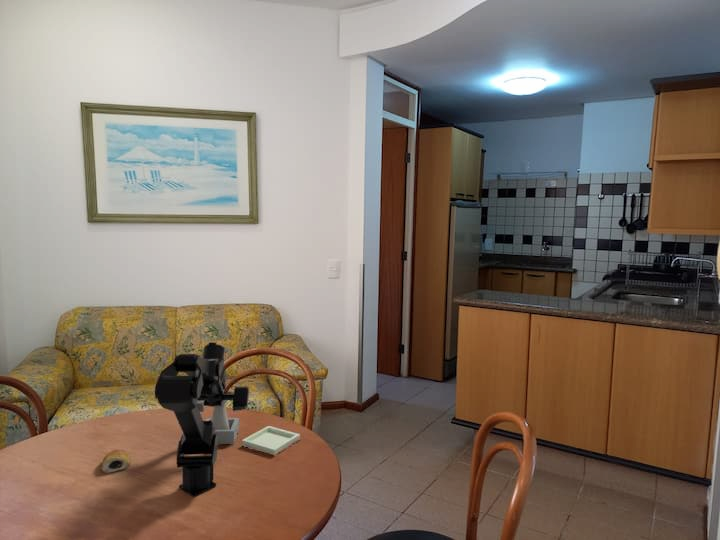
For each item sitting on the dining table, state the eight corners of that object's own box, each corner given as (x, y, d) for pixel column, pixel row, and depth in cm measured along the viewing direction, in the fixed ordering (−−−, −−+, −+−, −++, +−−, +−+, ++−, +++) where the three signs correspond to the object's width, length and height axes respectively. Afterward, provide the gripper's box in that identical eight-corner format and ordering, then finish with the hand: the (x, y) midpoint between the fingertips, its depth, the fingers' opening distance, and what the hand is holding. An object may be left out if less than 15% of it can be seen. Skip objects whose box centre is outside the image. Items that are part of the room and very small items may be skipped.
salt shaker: (217, 443, 142) (217, 400, 141) (205, 438, 146) (205, 395, 145) (233, 436, 147) (233, 395, 146) (221, 431, 151) (221, 390, 149)
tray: (274, 456, 135) (274, 449, 135) (241, 446, 141) (241, 440, 141) (300, 440, 146) (300, 434, 145) (268, 431, 151) (268, 425, 151)
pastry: (103, 458, 132) (103, 445, 132) (131, 454, 135) (130, 441, 135) (101, 475, 124) (101, 460, 123) (130, 470, 126) (130, 456, 126)
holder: (233, 444, 142) (233, 431, 142) (198, 445, 141) (198, 431, 141) (239, 430, 152) (239, 417, 152) (206, 430, 151) (206, 418, 151)
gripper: (248, 360, 138) (253, 385, 150) (181, 360, 137) (191, 385, 149) (244, 396, 131) (249, 419, 143) (173, 397, 130) (184, 420, 142)
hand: (219, 410), depth 144 cm, fingers open, 9 cm apart
